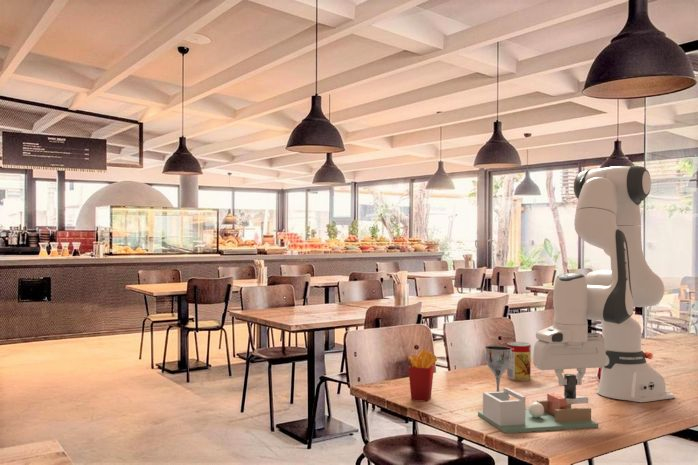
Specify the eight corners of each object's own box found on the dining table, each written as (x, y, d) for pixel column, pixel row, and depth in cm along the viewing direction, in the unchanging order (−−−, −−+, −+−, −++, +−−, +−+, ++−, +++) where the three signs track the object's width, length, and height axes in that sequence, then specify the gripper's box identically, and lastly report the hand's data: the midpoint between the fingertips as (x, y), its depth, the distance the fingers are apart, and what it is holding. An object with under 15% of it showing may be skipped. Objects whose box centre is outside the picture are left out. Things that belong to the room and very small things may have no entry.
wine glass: (512, 394, 191) (512, 346, 191) (510, 400, 183) (510, 350, 183) (486, 392, 193) (486, 344, 193) (483, 398, 186) (483, 348, 186)
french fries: (407, 400, 183) (407, 350, 183) (414, 393, 190) (414, 345, 190) (436, 403, 179) (436, 352, 180) (442, 396, 187) (442, 347, 187)
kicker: (579, 410, 169) (580, 372, 169) (593, 416, 163) (593, 376, 163) (547, 412, 166) (547, 373, 167) (559, 418, 161) (559, 378, 161)
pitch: (563, 410, 173) (563, 382, 173) (598, 427, 157) (598, 396, 158) (478, 415, 167) (478, 386, 167) (505, 433, 152) (505, 401, 152)
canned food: (535, 379, 212) (535, 344, 212) (517, 381, 209) (517, 346, 209) (519, 374, 219) (519, 341, 219) (502, 376, 216) (502, 342, 216)
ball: (539, 414, 165) (539, 399, 165) (547, 419, 161) (547, 403, 161) (525, 415, 164) (525, 400, 164) (533, 420, 160) (533, 404, 160)
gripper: (596, 330, 170) (596, 380, 170) (530, 332, 166) (530, 383, 165) (611, 334, 164) (611, 385, 164) (542, 336, 160) (542, 389, 159)
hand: (570, 385), depth 165 cm, fingers closed on kicker, 3 cm apart
